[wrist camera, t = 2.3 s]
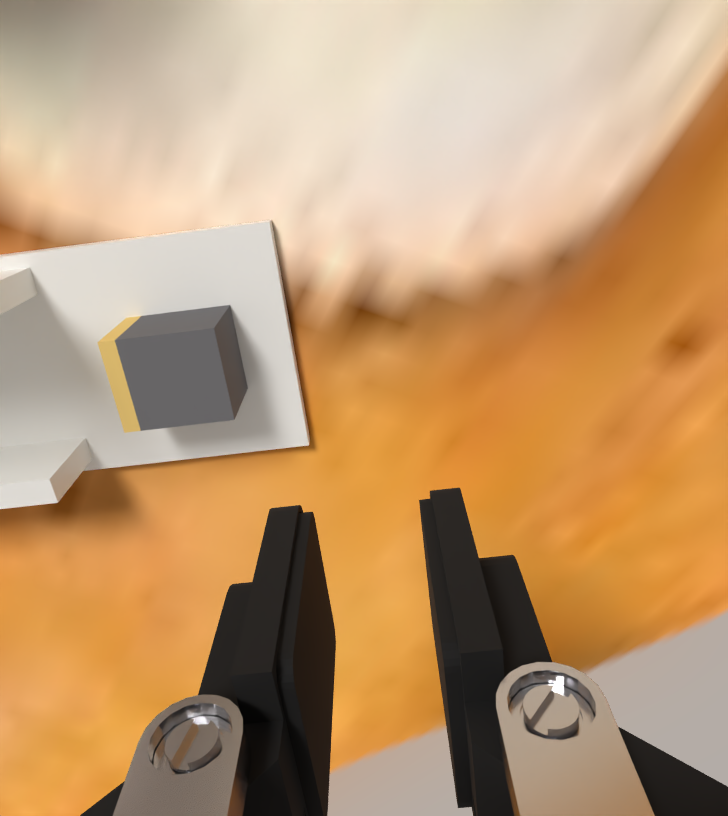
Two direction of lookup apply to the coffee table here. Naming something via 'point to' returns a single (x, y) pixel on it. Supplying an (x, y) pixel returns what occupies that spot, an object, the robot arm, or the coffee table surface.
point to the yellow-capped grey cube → (175, 368)
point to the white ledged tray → (100, 313)
